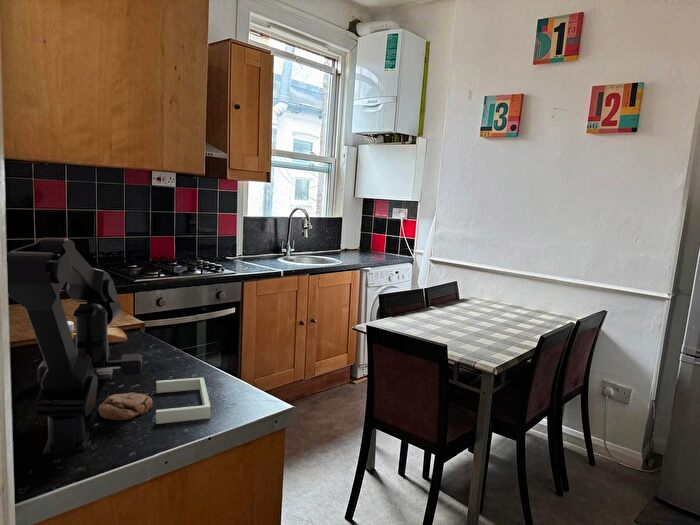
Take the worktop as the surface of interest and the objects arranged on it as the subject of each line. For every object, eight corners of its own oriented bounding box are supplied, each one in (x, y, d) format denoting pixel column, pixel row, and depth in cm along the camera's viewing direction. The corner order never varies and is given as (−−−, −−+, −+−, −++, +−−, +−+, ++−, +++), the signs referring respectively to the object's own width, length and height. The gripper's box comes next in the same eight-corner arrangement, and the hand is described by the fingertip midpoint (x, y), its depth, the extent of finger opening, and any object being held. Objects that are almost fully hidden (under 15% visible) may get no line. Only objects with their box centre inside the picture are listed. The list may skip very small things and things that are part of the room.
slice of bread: (43, 340, 149) (43, 328, 149) (103, 329, 164) (103, 318, 163) (72, 354, 139) (71, 341, 138) (133, 341, 153) (133, 329, 152)
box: (210, 418, 104) (210, 406, 104) (156, 423, 100) (156, 412, 100) (203, 387, 120) (203, 377, 119) (156, 391, 116) (156, 381, 116)
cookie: (162, 409, 107) (162, 396, 107) (114, 426, 99) (114, 412, 98) (136, 397, 113) (136, 384, 113) (88, 411, 105) (88, 398, 104)
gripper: (142, 321, 112) (142, 387, 115) (46, 325, 105) (48, 396, 108) (141, 335, 102) (141, 408, 104) (35, 340, 95) (37, 418, 97)
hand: (93, 406), depth 104 cm, fingers closed
